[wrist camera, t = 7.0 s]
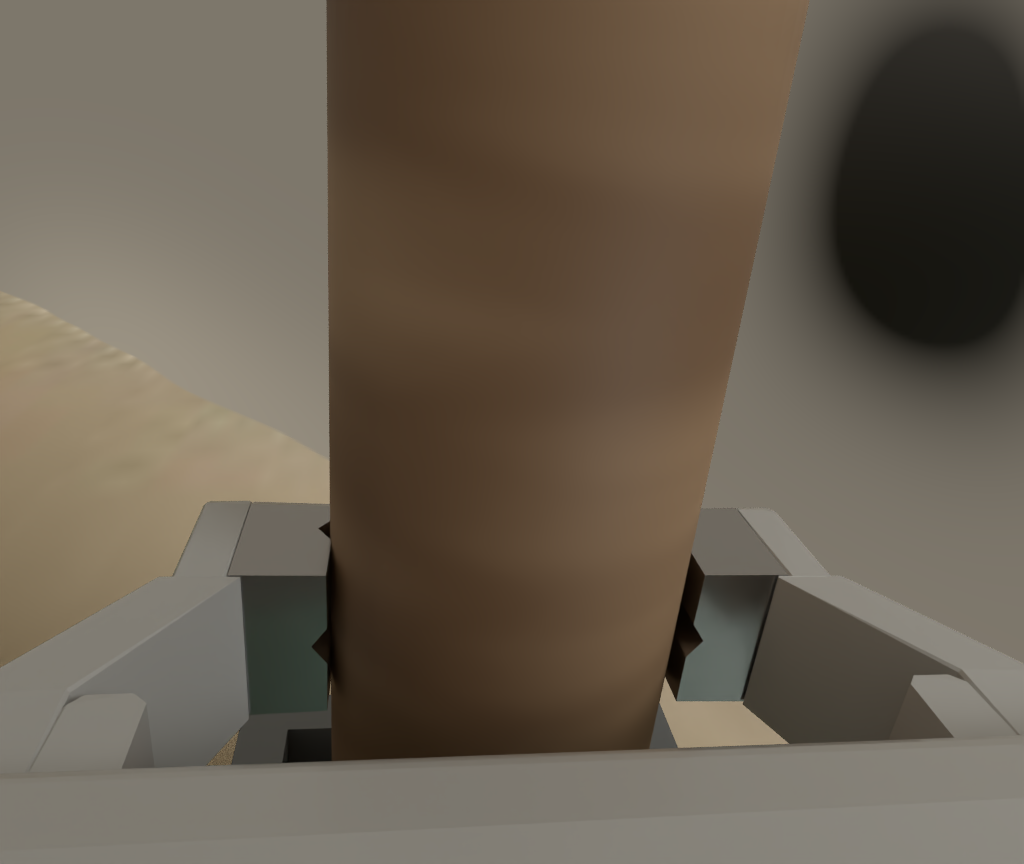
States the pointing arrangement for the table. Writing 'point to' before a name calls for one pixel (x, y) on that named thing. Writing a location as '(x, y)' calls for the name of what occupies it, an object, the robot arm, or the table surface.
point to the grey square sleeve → (312, 737)
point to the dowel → (531, 351)
